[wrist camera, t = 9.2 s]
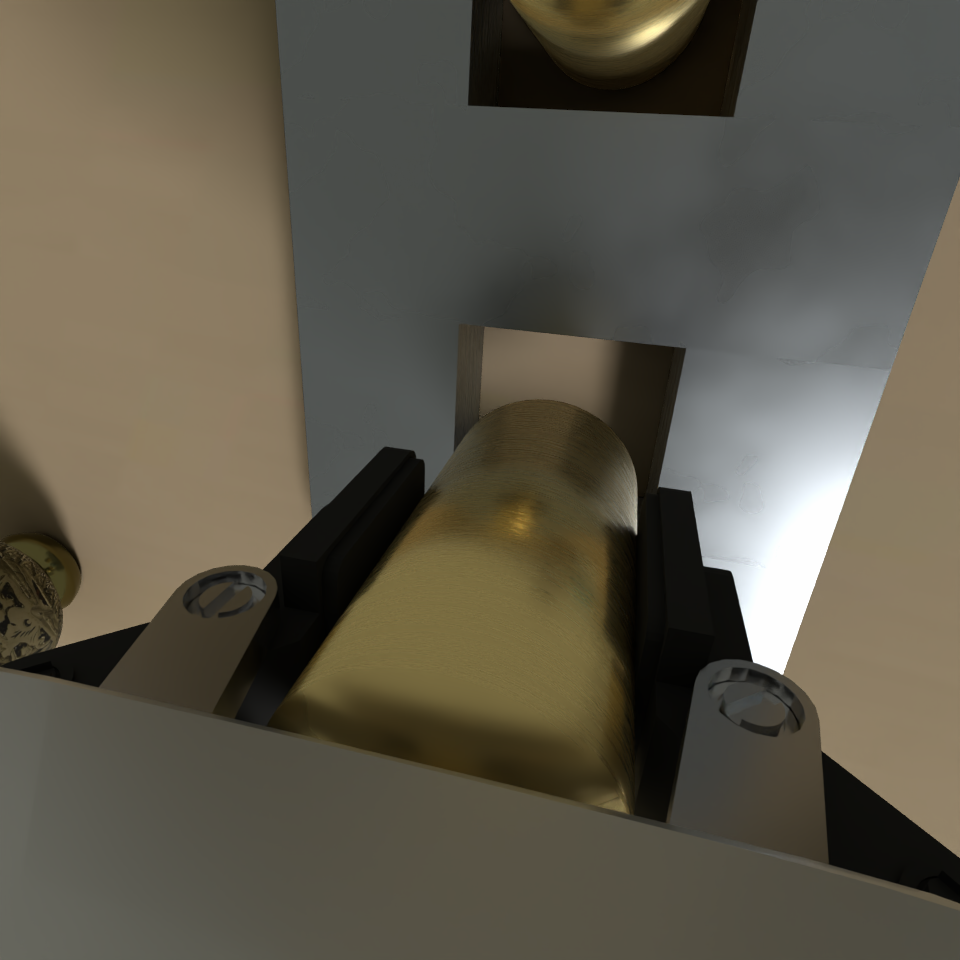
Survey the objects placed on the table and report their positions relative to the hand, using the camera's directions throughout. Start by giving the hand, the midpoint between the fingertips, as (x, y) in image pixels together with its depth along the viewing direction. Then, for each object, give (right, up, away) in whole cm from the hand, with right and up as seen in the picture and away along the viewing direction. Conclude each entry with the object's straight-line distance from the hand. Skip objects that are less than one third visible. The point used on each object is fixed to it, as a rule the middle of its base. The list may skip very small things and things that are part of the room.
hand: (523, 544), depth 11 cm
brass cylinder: (0, +1, +2) cm, 2 cm away
